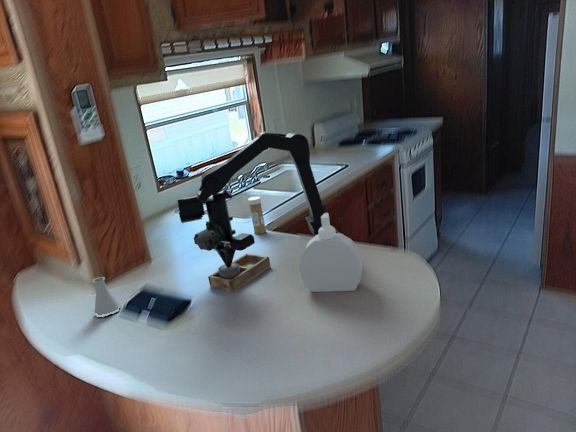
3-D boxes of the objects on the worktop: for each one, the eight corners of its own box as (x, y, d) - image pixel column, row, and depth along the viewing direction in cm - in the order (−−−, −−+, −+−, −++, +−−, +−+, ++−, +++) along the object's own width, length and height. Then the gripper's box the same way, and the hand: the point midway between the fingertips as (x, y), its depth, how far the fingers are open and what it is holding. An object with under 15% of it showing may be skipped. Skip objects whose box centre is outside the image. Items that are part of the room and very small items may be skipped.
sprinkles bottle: (268, 231, 175) (262, 197, 171) (257, 235, 172) (251, 200, 168) (262, 229, 178) (256, 195, 174) (251, 232, 176) (245, 198, 172)
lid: (245, 277, 137) (243, 264, 136) (231, 286, 132) (229, 272, 131) (230, 274, 141) (228, 261, 139) (216, 282, 136) (214, 269, 135)
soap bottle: (365, 281, 125) (357, 210, 119) (363, 291, 120) (355, 217, 114) (306, 283, 129) (296, 215, 123) (302, 292, 124) (292, 221, 118)
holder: (270, 266, 144) (268, 256, 143) (233, 292, 131) (231, 281, 130) (248, 263, 149) (246, 253, 148) (210, 287, 136) (208, 276, 135)
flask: (95, 321, 126) (85, 288, 123) (93, 311, 132) (83, 279, 129) (123, 312, 129) (113, 279, 126) (119, 302, 135) (110, 271, 132)
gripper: (174, 223, 130) (186, 274, 135) (223, 228, 119) (234, 283, 124) (203, 210, 138) (213, 258, 143) (251, 214, 127) (260, 266, 132)
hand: (228, 266), depth 135 cm, fingers closed, pressing on lid
